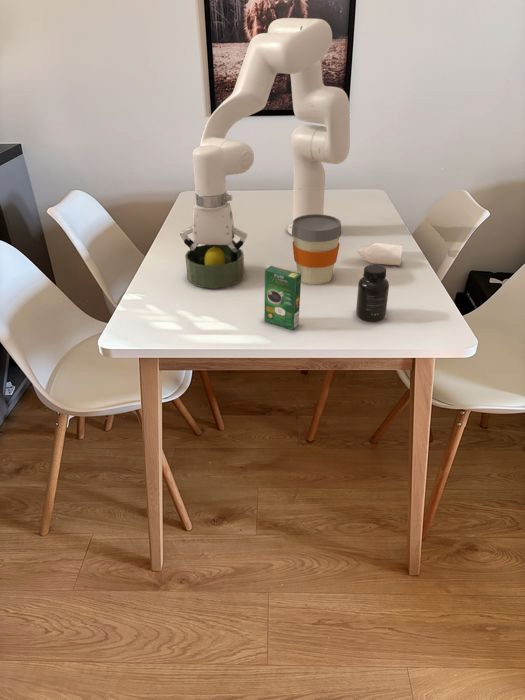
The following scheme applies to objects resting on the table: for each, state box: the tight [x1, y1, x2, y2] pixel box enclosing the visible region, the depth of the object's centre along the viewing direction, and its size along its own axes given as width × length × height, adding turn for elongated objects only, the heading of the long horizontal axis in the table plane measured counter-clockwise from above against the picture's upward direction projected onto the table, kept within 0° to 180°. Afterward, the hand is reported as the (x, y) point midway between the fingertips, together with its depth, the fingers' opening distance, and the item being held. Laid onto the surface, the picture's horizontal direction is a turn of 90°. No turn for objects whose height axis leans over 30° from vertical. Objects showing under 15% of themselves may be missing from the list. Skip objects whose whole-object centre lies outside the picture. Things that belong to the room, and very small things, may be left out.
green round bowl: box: [184, 244, 245, 289], centre depth 147 cm, size 15×15×6 cm
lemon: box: [204, 247, 226, 266], centre depth 146 cm, size 6×6×8 cm
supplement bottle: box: [355, 263, 390, 323], centre depth 126 cm, size 7×7×12 cm
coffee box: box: [263, 265, 302, 331], centre depth 123 cm, size 8×3×13 cm, turn 57°
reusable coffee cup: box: [291, 214, 342, 285], centre depth 144 cm, size 12×13×15 cm
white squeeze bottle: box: [356, 242, 403, 267], centre depth 154 cm, size 6×12×6 cm, turn 78°
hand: (215, 263), depth 146 cm, fingers open, 9 cm apart
